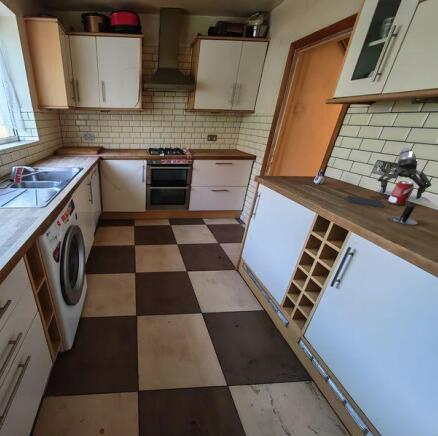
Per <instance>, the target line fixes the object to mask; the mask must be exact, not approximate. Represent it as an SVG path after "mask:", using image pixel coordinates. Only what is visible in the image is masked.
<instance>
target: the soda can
mask: <svg viewBox="0 0 438 436" xmlns="http://www.w3.org/2000/svg"><path fill="white" fill-rule="evenodd" d="M414 188H415V182H411V181H406V180H405V181H404V180H399V182H397V183H396V184H395V185H394V188H393V189H392V191H391V193H390V196H389V197H388V199H387V202H388V203H389V204H392V205H396V206H404V205H406V203H407V201H408V200H409V197H410V196H411V194H412V192H413V190H415V189H414Z"/></svg>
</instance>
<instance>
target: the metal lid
mask: <svg viewBox="0 0 438 436" xmlns="http://www.w3.org/2000/svg"><path fill="white" fill-rule="evenodd" d="M415 208H416V206H415V205H413V204H407V205H406V207H405V208H404V210H403V212H402V214H401V216H400V215H389V217H388V219H389V220H390V221H392V222H394V223H398V224H401V225H404V226H412V227H413V226H417V225H418V222H417V221H416V220H414V219H412V218H409V217H410V216H412V213H413V211H414V210H415Z"/></svg>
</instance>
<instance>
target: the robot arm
mask: <svg viewBox="0 0 438 436" xmlns="http://www.w3.org/2000/svg"><path fill="white" fill-rule="evenodd" d="M416 159H417V158H416V156H415V154H414V152H413V151H412V150H411V149H409V148H404V149H402V150H401V152H400V151H399V154H398V159H397V162H396V167H393V166H390V167H388V169H387V171H385V172H384V173H383V174H382V175H381V176H380V177H378V179H377V180H376V181H377V182H380V188H381V194H384V193H386V191H387V187H388V182H389V181H390V180H393V179H395V178H396V177H400V178H408V179H409V180H411V181H412V182H413V183H414V184H416V185H417V186H418V188H417V192H416V197H415V199H417V200H419V199H420V198H421V197H422V194H424V193H425V192H426V189H429V188H430V187H432V182H431V181H430V180H429V178H428V177H427V175H426V173H425V174H424V173H423V172H422V170H418V169H417V167H418V163H417V161H416ZM420 171H421V172H420ZM393 172H394V173H393ZM390 173H393V174H391V175H389V174H390ZM388 175H389V176H388ZM387 176H388V177H387ZM426 183H427V184H426ZM428 187H429V188H428Z"/></svg>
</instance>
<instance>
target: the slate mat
mask: <svg viewBox="0 0 438 436" xmlns="http://www.w3.org/2000/svg"><path fill="white" fill-rule="evenodd" d="M347 200H348V202H349V203H352V204H357V205H363V206H368V207H373V208H378V209H379V208H380V209H384V208H385V207H384V205H383V204H382V202H381V200H378V199H372V198H366V197H360V196H355V195H347Z"/></svg>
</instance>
